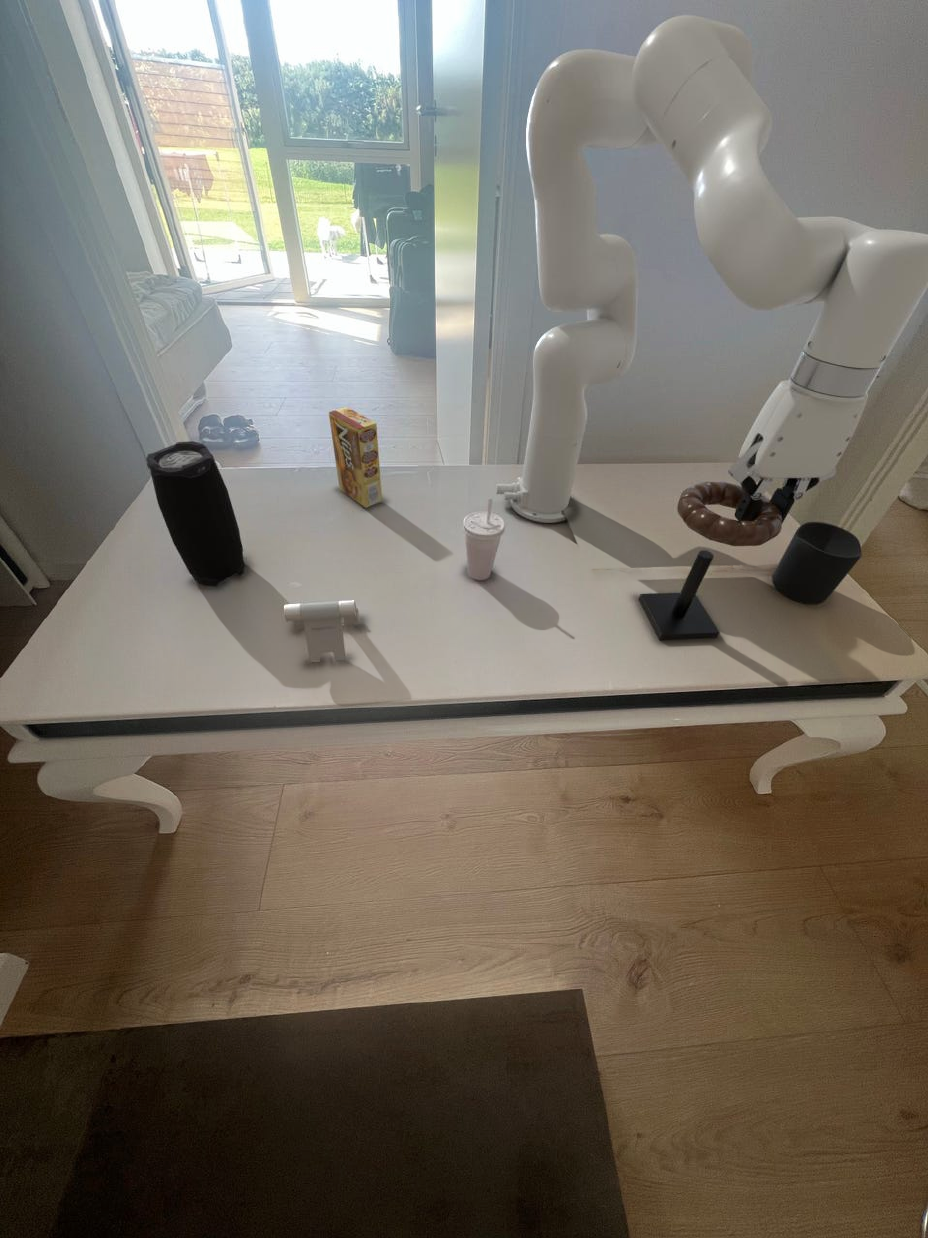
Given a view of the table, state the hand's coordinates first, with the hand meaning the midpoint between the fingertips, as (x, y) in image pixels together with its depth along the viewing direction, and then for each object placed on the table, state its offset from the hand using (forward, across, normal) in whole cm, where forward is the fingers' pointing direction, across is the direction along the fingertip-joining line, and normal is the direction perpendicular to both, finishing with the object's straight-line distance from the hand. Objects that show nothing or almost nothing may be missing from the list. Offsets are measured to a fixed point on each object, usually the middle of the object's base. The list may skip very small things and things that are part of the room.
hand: (757, 520), depth 68 cm
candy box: (+17, +54, -36) cm, 67 cm away
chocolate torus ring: (-1, +4, 0) cm, 5 cm away
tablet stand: (+18, +57, +2) cm, 60 cm away
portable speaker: (+17, +75, -14) cm, 78 cm away
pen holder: (+18, -19, -6) cm, 27 cm away
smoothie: (+18, +34, -12) cm, 40 cm away
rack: (+18, +5, 0) cm, 18 cm away
